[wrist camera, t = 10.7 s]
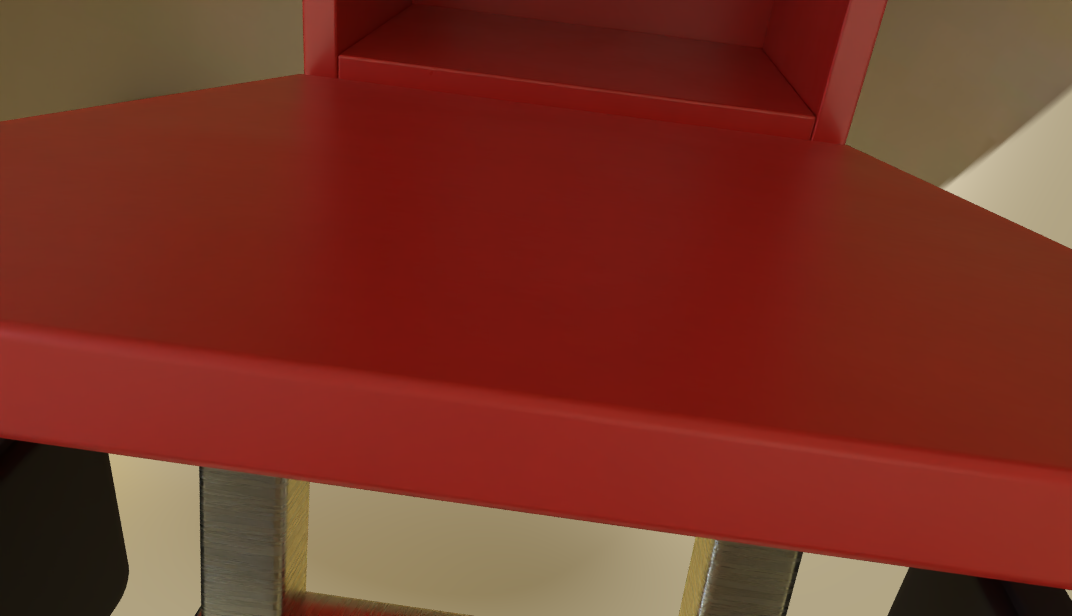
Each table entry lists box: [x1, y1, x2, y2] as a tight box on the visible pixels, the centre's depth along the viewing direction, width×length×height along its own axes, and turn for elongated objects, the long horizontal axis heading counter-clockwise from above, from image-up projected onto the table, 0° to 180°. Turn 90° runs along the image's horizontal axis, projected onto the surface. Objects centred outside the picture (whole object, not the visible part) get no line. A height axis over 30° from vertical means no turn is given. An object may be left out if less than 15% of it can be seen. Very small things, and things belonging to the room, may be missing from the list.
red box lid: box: [0, 74, 1072, 616], centre depth 12 cm, size 15×13×5 cm
